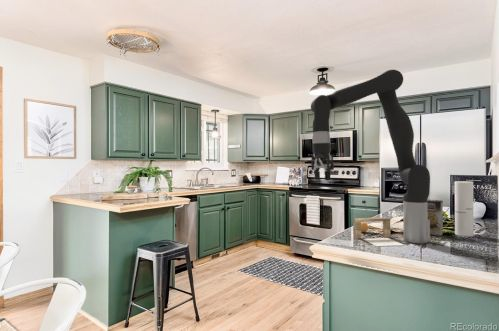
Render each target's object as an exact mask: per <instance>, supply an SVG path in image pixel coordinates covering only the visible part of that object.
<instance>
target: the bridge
mask: <svg viewBox="0 0 499 331" xmlns="http://www.w3.org/2000/svg"><path fill="white" fill-rule="evenodd" d="M361 222H365V223H370V222H371V223H372V222H373V223H375V222H382V238H383V237H384V238H389V239H391V217H358V218H355V217H354V218H353V238H354V239H356V240H359V239H362V232H361Z"/></svg>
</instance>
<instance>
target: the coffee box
mask: <svg viewBox="0 0 499 331" xmlns="http://www.w3.org/2000/svg"><path fill="white" fill-rule="evenodd" d="M443 202H444V201H443V200H441V199H440V200H438V199H427V213H428V220H430V235H431V236H432V235H433V236H442V235H443V232H444V230H443V222H444V220H443V217H444V216H443V215H444V213H443V212H444V210H443V208H444V203H443Z"/></svg>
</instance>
